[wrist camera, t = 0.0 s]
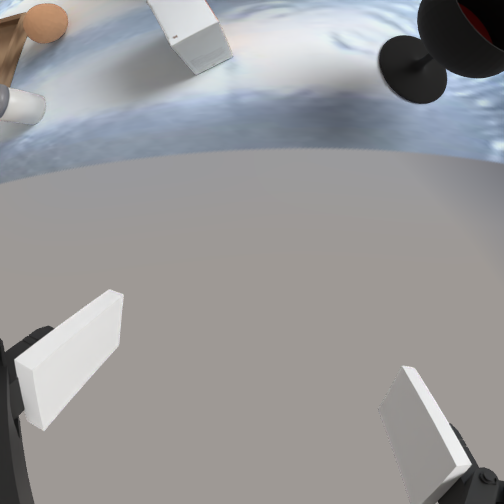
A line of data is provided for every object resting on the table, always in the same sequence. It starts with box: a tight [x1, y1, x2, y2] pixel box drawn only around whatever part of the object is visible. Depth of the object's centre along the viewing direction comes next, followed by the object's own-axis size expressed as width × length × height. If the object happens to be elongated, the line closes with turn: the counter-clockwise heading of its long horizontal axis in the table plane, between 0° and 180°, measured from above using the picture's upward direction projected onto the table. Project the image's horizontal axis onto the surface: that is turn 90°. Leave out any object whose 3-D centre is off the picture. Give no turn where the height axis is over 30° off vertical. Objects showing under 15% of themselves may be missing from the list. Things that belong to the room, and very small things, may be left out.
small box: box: [147, 0, 233, 75], centre depth 31 cm, size 8×6×10 cm
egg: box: [23, 4, 68, 43], centre depth 31 cm, size 7×7×9 cm
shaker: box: [0, 84, 46, 125], centre depth 34 cm, size 5×5×11 cm
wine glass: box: [380, 0, 504, 103], centre depth 24 cm, size 10×10×20 cm
